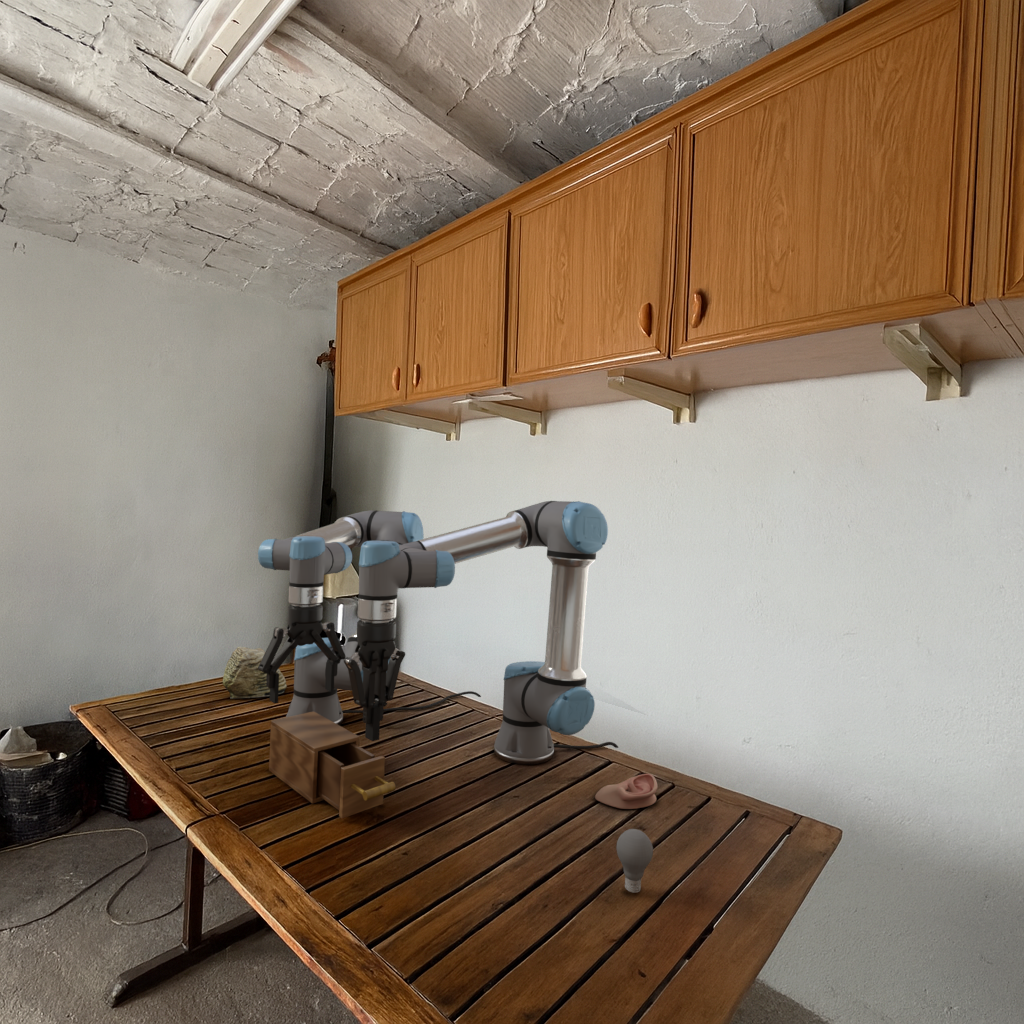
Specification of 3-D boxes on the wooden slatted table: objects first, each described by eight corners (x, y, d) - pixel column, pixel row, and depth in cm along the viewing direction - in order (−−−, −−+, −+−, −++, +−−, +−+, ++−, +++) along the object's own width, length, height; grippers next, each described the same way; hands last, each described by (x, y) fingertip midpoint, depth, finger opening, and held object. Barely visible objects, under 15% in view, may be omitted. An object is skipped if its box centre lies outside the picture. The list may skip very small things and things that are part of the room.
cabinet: (357, 788, 138) (359, 736, 138) (312, 803, 131) (314, 748, 130) (311, 758, 153) (313, 711, 152) (268, 770, 145) (270, 720, 145)
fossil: (218, 695, 195) (220, 647, 195) (278, 685, 208) (279, 640, 207) (228, 703, 189) (230, 653, 188) (289, 692, 201) (290, 645, 201)
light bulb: (610, 879, 108) (613, 822, 108) (644, 879, 109) (647, 822, 109) (619, 902, 102) (622, 840, 102) (655, 901, 103) (658, 840, 103)
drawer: (400, 815, 126) (402, 767, 126) (359, 831, 119) (361, 780, 119) (335, 772, 144) (336, 729, 144) (295, 783, 137) (297, 739, 137)
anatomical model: (594, 786, 135) (598, 765, 146) (593, 805, 135) (597, 782, 146) (658, 795, 132) (657, 772, 143) (657, 814, 132) (656, 790, 143)
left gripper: (258, 612, 134) (255, 711, 134) (362, 601, 151) (358, 689, 152) (244, 606, 139) (241, 702, 140) (345, 597, 157) (342, 682, 157)
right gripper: (358, 626, 117) (353, 752, 118) (415, 619, 126) (410, 736, 127) (337, 619, 123) (332, 740, 123) (393, 613, 132) (389, 725, 132)
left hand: (302, 696), depth 146 cm, fingers open, 13 cm apart
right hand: (372, 738), depth 125 cm, fingers closed
